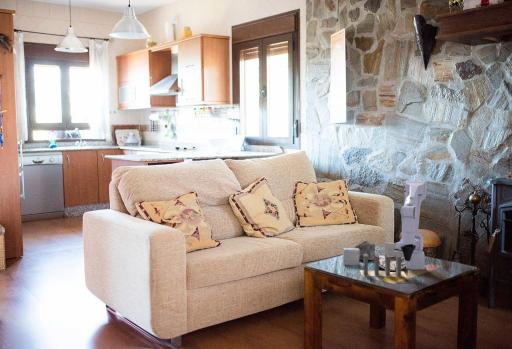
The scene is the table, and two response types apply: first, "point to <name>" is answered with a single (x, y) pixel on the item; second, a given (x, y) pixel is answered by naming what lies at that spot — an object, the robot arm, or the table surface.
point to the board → (383, 274)
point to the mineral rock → (366, 250)
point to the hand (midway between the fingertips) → (407, 260)
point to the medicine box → (351, 256)
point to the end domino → (365, 264)
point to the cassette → (393, 246)
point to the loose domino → (398, 265)
